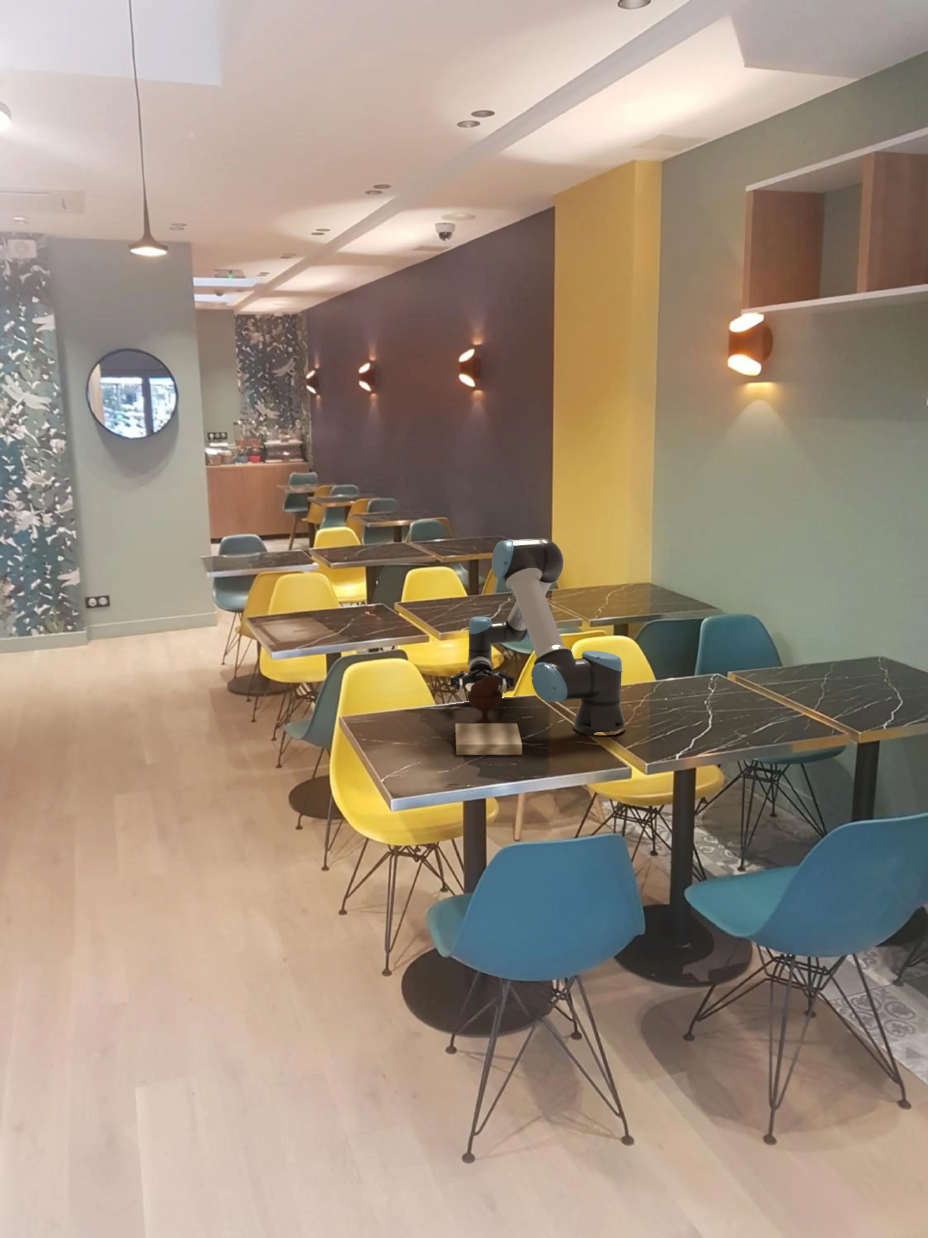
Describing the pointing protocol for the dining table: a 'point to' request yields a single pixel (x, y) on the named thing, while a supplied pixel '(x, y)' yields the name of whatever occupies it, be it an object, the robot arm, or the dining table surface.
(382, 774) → the dining table surface
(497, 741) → the maple stand board
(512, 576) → the robot arm
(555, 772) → the dining table surface
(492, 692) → the ice cream bowl
